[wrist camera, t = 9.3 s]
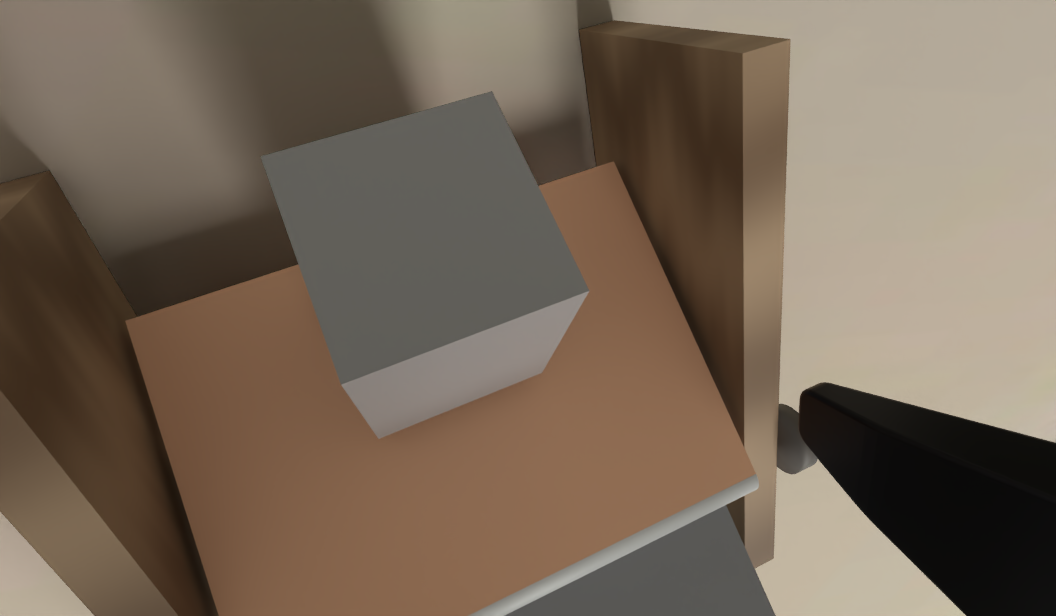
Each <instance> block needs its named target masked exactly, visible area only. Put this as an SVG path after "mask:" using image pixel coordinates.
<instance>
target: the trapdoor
mask: <svg viewBox="0 0 1056 616" xmlns="http://www.w3.org/2000/svg"><path fill="white" fill-rule="evenodd" d="M539 188H540V191H541V193H542V195H543V197H544V199H545V201H546V203H547V205H548V207H549V209H550V211H551V213H552V215H553V217H554V219H555V221H556V223H557V225H558V227H559V229H560V231H561V233H562V236H563V238H564V240H565V242H566V244H567V246H568V248H569V250H570V252H571V254H572V256H573V258H574V260H575V262H576V264H577V266H578V268H579V270H580V272H581V274H582V276H583V278H584V281H585V283H586V285H587V287H588V289H589V293H588V294H587V296H586V298H585V300H584V301H583V303H582V305H581V306H580V308H579V310H578V312H577V313H576V315H575V317H574V319H573V320H572V322H571V324H570V325H569V327H568V329H567V331H566V332H565V334H564V336H563V338H562V339H561V341H560V343H559V344H558V346H557V348H556V350H555V351H554V353H553V355H552V357H551V358H550V360H549V362H548V363H547V365H546V367H545V369H544V370H543V372H542V373H540V374H538V375H536V376H533V377H531V378H528V379H526V380H523V381H521V382H518V383H516V384H513V385H511V386H508V387H506V388H503V389H501V390H498V391H496V392H494V393H491V394H489V395H486V396H484V397H481V398H479V399H476V400H474V401H471V402H469V403H466V404H464V405H461V406H459V407H456V408H454V409H452V410H449V411H447V412H444V413H442V414H439V415H437V416H434V417H432V418H429V419H427V420H424V421H422V422H419V423H417V424H414V425H412V426H410V427H407V428H405V429H402V430H400V431H397V432H395V433H392V434H390V435H387V436H385V437H382V438H380V439H378V437H377V436H376V435H375V433H374V432H373V430H372V429H371V427H370V426H369V424H368V423H367V422H366V420H365V419H364V417H363V416H362V414H361V413H360V412H359V410H358V409H357V407H356V406H355V404H354V403H353V401H352V400H351V399H350V397H349V396H348V394H347V393H346V391H345V390H344V388H343V387H342V386H341V383H340V381H339V378H338V375H337V372H336V369H335V366H334V364H333V361H332V358H331V355H330V352H329V349H328V347H327V344H326V341H325V338H324V335H323V332H322V330H321V327H320V324H319V321H318V318H317V315H316V313H315V310H314V307H313V304H312V301H311V298H310V296H309V293H308V290H307V287H306V284H305V281H304V279H303V276H302V273H301V270H300V267H299V264H298V265H295V266H292V267H289V268H285V269H282V270H279V271H276V272H273V273H270V274H267V275H264V276H261V277H258V278H255V279H252V280H249V281H246V282H243V283H240V284H237V285H233V286H230V287H227V288H224V289H221V290H218V291H215V292H212V293H209V294H206V295H203V296H200V297H197V298H194V299H191V300H188V301H184V302H181V303H178V304H175V305H172V306H169V307H166V308H163V309H160V310H157V311H154V312H151V313H148V314H145V315H142V316H139V317H136V318H132V319H129V320H126V321H125V322H126V325H127V328H128V331H129V334H130V338H131V341H132V344H133V347H134V350H135V353H136V356H137V360H138V363H139V366H140V369H141V372H142V375H143V379H144V382H145V385H146V388H147V391H148V394H149V397H150V401H151V404H152V407H153V410H154V413H155V416H156V420H157V423H158V426H159V429H160V432H161V435H162V438H163V442H164V445H165V448H166V451H167V454H168V457H169V460H170V464H171V467H172V470H173V473H174V476H175V479H176V483H177V486H178V489H179V492H180V495H181V498H182V501H183V505H184V508H185V511H186V514H187V517H188V520H189V524H190V527H191V530H192V533H193V536H194V539H195V542H196V546H197V549H198V552H199V555H200V558H201V561H202V565H203V568H204V571H205V574H206V577H207V580H208V583H209V587H210V590H211V593H212V596H213V599H214V602H215V606H216V609H217V612H218V615H219V616H775V614H774V612H773V609H772V607H771V605H770V603H769V600H768V598H767V596H766V594H765V591H764V589H763V587H762V585H761V582H760V580H759V578H758V576H757V573H756V571H755V569H754V567H753V564H752V562H751V560H750V558H749V555H748V553H747V551H746V549H745V546H744V544H743V542H742V540H741V537H740V535H739V533H738V531H737V528H736V526H735V524H734V522H733V519H732V517H731V515H730V513H729V510H728V508H727V506H726V505H727V504H729V503H731V502H733V501H735V500H737V499H739V498H741V497H743V496H745V495H747V494H749V493H751V492H753V491H755V490H757V489H758V487H759V481H758V477H757V475H756V472H755V470H754V468H753V466H752V464H751V461H750V459H749V457H748V455H747V453H746V450H745V448H744V446H743V444H742V442H741V439H740V437H739V435H738V433H737V431H736V428H735V426H734V424H733V422H732V420H731V417H730V415H729V413H728V411H727V409H726V407H725V404H724V402H723V400H722V398H721V396H720V393H719V391H718V389H717V387H716V385H715V382H714V380H713V378H712V376H711V374H710V371H709V369H708V367H707V365H706V363H705V360H704V358H703V356H702V354H701V352H700V349H699V347H698V345H697V343H696V341H695V338H694V336H693V334H692V332H691V330H690V327H689V325H688V323H687V321H686V319H685V317H684V314H683V312H682V310H681V308H680V306H679V303H678V301H677V299H676V297H675V295H674V292H673V290H672V288H671V286H670V284H669V281H668V279H667V277H666V275H665V273H664V270H663V268H662V266H661V264H660V262H659V259H658V257H657V255H656V253H655V251H654V248H653V246H652V244H651V242H650V240H649V237H648V235H647V233H646V231H645V229H644V226H643V224H642V222H641V220H640V218H639V216H638V213H637V211H636V209H635V207H634V205H633V202H632V200H631V198H630V196H629V194H628V191H627V189H626V187H625V185H624V183H623V180H622V178H621V176H620V174H619V172H618V169H617V167H616V165H615V163H614V161H613V162H610V163H607V164H604V165H601V166H598V167H594V168H591V169H588V170H585V171H582V172H579V173H576V174H573V175H570V176H567V177H564V178H561V179H558V180H555V181H552V182H549V183H546V184H542V185H539Z"/></svg>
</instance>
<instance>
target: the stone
mask: <svg viewBox="0 0 1056 616" xmlns="http://www.w3.org/2000/svg"><path fill="white" fill-rule="evenodd" d="M260 157H261V160H262V162H263V165H264V168H265V171H266V174H267V177H268V179H269V182H270V185H271V188H272V191H273V194H274V196H275V199H276V202H277V205H278V208H279V211H280V213H281V216H282V219H283V222H284V225H285V228H286V230H287V233H288V236H289V239H290V242H291V245H292V247H293V250H294V253H295V256H296V259H297V262H298V264H299V267H300V270H301V273H302V276H303V279H304V281H305V284H306V287H307V290H308V293H309V296H310V298H311V301H312V304H313V307H314V310H315V313H316V315H317V318H318V321H319V324H320V327H321V330H322V332H323V335H324V338H325V341H326V344H327V347H328V349H329V352H330V355H331V358H332V361H333V364H334V366H335V369H336V372H337V375H338V378H339V381H340V383H341V386H342V387H343V388H344V390H345V391H346V393H347V394H348V396H349V397H350V399H351V400H352V401H353V403H354V404H355V406H356V407H357V409H358V410H359V412H360V413H361V414H362V416H363V417H364V419H365V420H366V422H367V423H368V424H369V426H370V427H371V429H372V430H373V432H374V433H375V435H376V436H377V437H378V439H380V438H382V437H385V436H387V435H390V434H392V433H395V432H397V431H400V430H402V429H405V428H407V427H410V426H412V425H414V424H417V423H419V422H422V421H424V420H427V419H429V418H432V417H434V416H437V415H439V414H442V413H444V412H447V411H449V410H452V409H454V408H456V407H459V406H461V405H464V404H466V403H469V402H471V401H474V400H476V399H479V398H481V397H484V396H486V395H489V394H491V393H494V392H496V391H498V390H501V389H503V388H506V387H508V386H511V385H513V384H516V383H518V382H521V381H523V380H526V379H528V378H531V377H533V376H536V375H538V374H540V373H542V372H543V370H544V369H545V367H546V365H547V363H548V362H549V360H550V358H551V357H552V355H553V353H554V351H555V350H556V348H557V346H558V344H559V343H560V341H561V339H562V338H563V336H564V334H565V332H566V331H567V329H568V327H569V325H570V324H571V322H572V320H573V319H574V317H575V315H576V313H577V312H578V310H579V308H580V306H581V305H582V303H583V301H584V300H585V298H586V296H587V294H588V293H589V289H588V287H587V285H586V283H585V281H584V278H583V276H582V274H581V272H580V270H579V268H578V266H577V264H576V262H575V260H574V258H573V256H572V254H571V252H570V250H569V248H568V246H567V244H566V242H565V240H564V238H563V236H562V233H561V231H560V229H559V227H558V225H557V223H556V221H555V219H554V217H553V215H552V213H551V211H550V209H549V207H548V205H547V203H546V201H545V199H544V197H543V195H542V193H541V191H540V188H539V186H538V184H537V182H536V180H535V178H534V176H533V174H532V172H531V170H530V168H529V166H528V164H527V162H526V160H525V158H524V156H523V154H522V152H521V150H520V148H519V146H518V144H517V141H516V139H515V137H514V135H513V133H512V131H511V129H510V127H509V125H508V123H507V121H506V119H505V117H504V115H503V113H502V111H501V109H500V107H499V105H498V103H497V101H496V99H495V96H494V94H493V92H492V91H491V92H488V93H484V94H481V95H477V96H474V97H470V98H467V99H463V100H459V101H456V102H452V103H449V104H445V105H442V106H438V107H435V108H431V109H427V110H424V111H420V112H417V113H413V114H410V115H406V116H402V117H399V118H395V119H392V120H388V121H385V122H381V123H378V124H374V125H370V126H367V127H363V128H360V129H356V130H353V131H349V132H346V133H342V134H338V135H335V136H331V137H328V138H324V139H321V140H317V141H313V142H310V143H306V144H303V145H299V146H296V147H292V148H289V149H285V150H281V151H278V152H274V153H271V154H267V155H264V156H260Z"/></svg>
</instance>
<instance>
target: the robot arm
mask: <svg viewBox="0 0 1056 616" xmlns="http://www.w3.org/2000/svg"><path fill="white" fill-rule="evenodd" d="M798 429H799V433H800V435H801V438H802V439H803V441H804V442H805V444H806V445H807V446H808V447H809V449H810V450H811V451H812V452H813V453H814V455H815V456H816V457H817V458H818V459H819V461H820V462H821V463H822V464H823V465H824V467H825V468H826V469H827V470H828V471H829V473H830V474H831V475H832V476H833V477H834V479H835V480H836V481H837V482H838V483H839V485H840V486H841V487H842V488H843V489H844V491H845V492H846V493H847V494H848V495H849V497H850V498H851V499H852V500H853V501H854V503H855V504H856V505H857V506H858V507H859V508H860V509H861V511H862V512H863V513H864V514H865V515H866V516H867V517H868V518H869V519H870V520H871V521H872V522H873V523H874V525H875V526H876V527H877V528H878V529H879V530H880V531H881V532H882V533H883V534H884V535H885V536H886V537H887V538H888V539H889V540H890V541H891V542H892V543H893V544H894V545H895V546H897V547H898V548H899V549H900V550H901V551H902V552H903V553H904V554H905V555H906V556H907V557H908V558H909V559H910V560H911V561H912V562H913V563H914V564H915V565H916V566H917V567H918V568H919V569H920V570H921V571H922V572H923V573H924V574H925V575H926V576H927V577H928V578H929V579H930V580H931V581H932V582H933V583H934V584H935V585H936V586H937V587H938V588H939V589H940V590H941V591H942V592H943V593H944V594H945V595H946V596H947V597H948V598H949V599H950V600H951V601H952V602H953V603H954V604H955V605H956V606H957V607H958V608H959V609H960V610H961V611H962V612H963V613H964V614H965V615H966V616H1056V443H1054V442H1051V441H1047V440H1043V439H1039V438H1035V437H1032V436H1028V435H1024V434H1020V433H1017V432H1013V431H1009V430H1005V429H1002V428H998V427H994V426H990V425H986V424H983V423H979V422H975V421H971V420H968V419H964V418H960V417H956V416H952V415H949V414H945V413H941V412H937V411H934V410H930V409H926V408H922V407H918V406H915V405H911V404H907V403H903V402H900V401H896V400H892V399H888V398H884V397H881V396H877V395H873V394H869V393H866V392H862V391H858V390H854V389H850V388H847V387H843V386H839V385H835V384H832V383H826V382H823V383H819V384H817V385H815V386H812V387H810V388H808V389H806V390H804V391H803V392H802V394H801V396H800V405H799V423H798Z"/></svg>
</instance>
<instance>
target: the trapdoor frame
mask: <svg viewBox="0 0 1056 616" xmlns="http://www.w3.org/2000/svg"><path fill="white" fill-rule="evenodd" d="M579 34H580V42H581V50H582V57H583V65H584V73H585V81H586V88H587V96H588V104H589V112H590V119H591V127H592V135H593V142H594V150H595V158H596V166H597V167H598V166H601V165H604V164H607V163H610V162H613V161H614V163H615V165H616V167H617V169H618V172H619V174H620V176H621V178H622V180H623V183H624V185H625V187H626V189H627V191H628V194H629V196H630V198H631V200H632V202H633V205H634V207H635V209H636V211H637V213H638V216H639V218H640V220H641V222H642V224H643V226H644V229H645V231H646V233H647V235H648V237H649V240H650V242H651V244H652V246H653V248H654V251H655V253H656V255H657V257H658V259H659V262H660V264H661V266H662V268H663V270H664V273H665V275H666V277H667V279H668V281H669V284H670V286H671V288H672V290H673V292H674V295H675V297H676V299H677V301H678V303H679V306H680V308H681V310H682V312H683V314H684V317H685V319H686V321H687V323H688V325H689V327H690V330H691V332H692V334H693V336H694V338H695V341H696V343H697V345H698V347H699V349H700V352H701V354H702V356H703V358H704V360H705V363H706V365H707V367H708V369H709V371H710V374H711V376H712V378H713V380H714V382H715V385H716V387H717V389H718V391H719V393H720V396H721V398H722V400H723V402H724V404H725V407H726V409H727V411H728V413H729V415H730V417H731V420H732V422H733V424H734V426H735V428H736V431H737V433H738V435H739V437H740V439H741V442H742V444H743V446H744V448H745V450H746V453H747V455H748V457H749V459H750V461H751V464H752V466H753V468H754V470H755V472H756V475H757V477H758V481H759V487H758V489H757V490H755V491H753V492H751V493H749V494H747V495H745V496H743V497H741V498H739V499H737V500H735V501H733V502H731V503H729V504H727V505H726V506H727V508H728V510H729V513H730V515H731V517H732V519H733V522H734V524H735V526H736V528H737V531H738V533H739V535H740V537H741V540H742V542H743V544H744V546H745V549H746V551H747V553H748V555H749V558H750V560H751V562H752V564H753V567H754V569H755V568H757V567H758V566H760V565H762V564H764V563H766V562H768V561H770V560H772V559H773V558H774V531H775V500H776V469H777V467H778V468H779V469H781V470H782V471H784V472H786V473H789V474H796V473H798V472H800V471H802V470H804V469H806V468H808V467H810V466H812V465H814V464H815V463H816V461H817V459H818V458H817V457H816V456H815V455H814V453H813V452H812V451H811V450H810V449H809V447H808V446H807V445H806V444H805V442H804V441H803V439H802V438H801V435H800V433H799V429H798V423H799V413H798V412H797V411H795V410H794V409H793V408H791V407H789V406H787V405H784V404H779V376H780V345H781V314H782V284H783V253H784V222H785V191H786V160H787V129H788V98H789V67H790V39H784V38H774V37H765V36H755V35H746V34H737V33H727V32H718V31H708V30H699V29H690V28H680V27H671V26H661V25H652V24H643V23H633V22H624V21H610V22H606V23H602V24H599V25H595V26H591V27H587V28H584V29H580V30H579ZM136 317H137V316H136V314H135V313H134V311H133V309H132V308H131V306H130V304H129V303H128V301H127V299H126V298H125V296H124V294H123V293H122V291H121V289H120V288H119V286H118V284H117V283H116V281H115V279H114V278H113V276H112V274H111V273H110V271H109V269H108V268H107V266H106V264H105V263H104V261H103V259H102V258H101V256H100V254H99V252H98V251H97V249H96V247H95V246H94V244H93V242H92V241H91V239H90V237H89V236H88V234H87V232H86V231H85V229H84V227H83V226H82V224H81V222H80V221H79V219H78V217H77V216H76V214H75V212H74V211H73V209H72V207H71V206H70V204H69V202H68V201H67V199H66V197H65V196H64V194H63V192H62V191H61V189H60V187H59V186H58V184H57V182H56V181H55V179H54V177H53V176H52V174H51V172H50V171H46V172H42V173H38V174H35V175H31V176H27V177H23V178H20V179H16V180H12V181H8V182H5V183H1V184H0V512H1V513H2V514H3V515H4V516H5V517H6V518H7V519H8V521H9V522H10V523H11V524H12V525H13V526H14V527H15V528H16V529H17V530H18V532H19V533H20V534H21V535H22V536H23V537H24V538H25V539H26V540H27V542H28V543H29V544H30V545H31V546H32V547H33V548H34V549H35V550H36V551H37V553H38V554H39V555H40V556H41V557H42V558H43V559H44V560H45V561H46V563H47V564H48V565H49V566H50V567H51V568H52V569H53V570H54V571H55V572H56V574H57V575H58V576H59V577H60V578H61V579H62V580H63V581H64V582H65V584H66V585H67V586H68V587H69V588H70V589H71V590H72V591H73V592H74V593H75V595H76V596H77V597H78V598H79V599H80V600H81V601H82V602H83V603H84V605H85V606H86V607H87V608H88V609H89V610H90V611H91V612H92V613H93V614H94V616H219V615H218V612H217V609H216V606H215V602H214V599H213V596H212V593H211V590H210V587H209V583H208V580H207V577H206V574H205V571H204V568H203V565H202V561H201V558H200V555H199V552H198V549H197V546H196V542H195V539H194V536H193V533H192V530H191V527H190V524H189V520H188V517H187V514H186V511H185V508H184V505H183V501H182V498H181V495H180V492H179V489H178V486H177V483H176V479H175V476H174V473H173V470H172V467H171V464H170V460H169V457H168V454H167V451H166V448H165V445H164V442H163V438H162V435H161V432H160V429H159V426H158V423H157V420H156V416H155V413H154V410H153V407H152V404H151V401H150V397H149V394H148V391H147V388H146V385H145V382H144V379H143V375H142V372H141V369H140V366H139V363H138V360H137V356H136V353H135V350H134V347H133V344H132V341H131V338H130V334H129V331H128V328H127V325H126V322H125V321H126V320H129V319H132V318H136Z"/></svg>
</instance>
